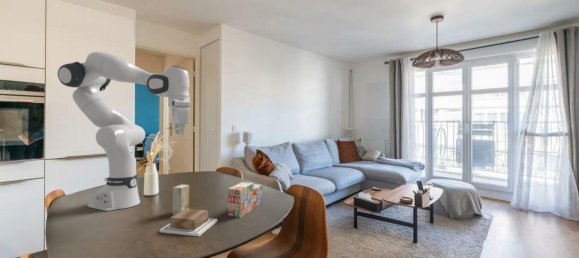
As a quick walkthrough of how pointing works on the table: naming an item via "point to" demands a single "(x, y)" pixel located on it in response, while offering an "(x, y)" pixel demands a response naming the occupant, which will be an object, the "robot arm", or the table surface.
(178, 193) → the skincare box
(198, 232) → the white flat slab
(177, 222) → the walnut plinth
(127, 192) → the robot arm
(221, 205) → the table surface
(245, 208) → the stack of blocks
